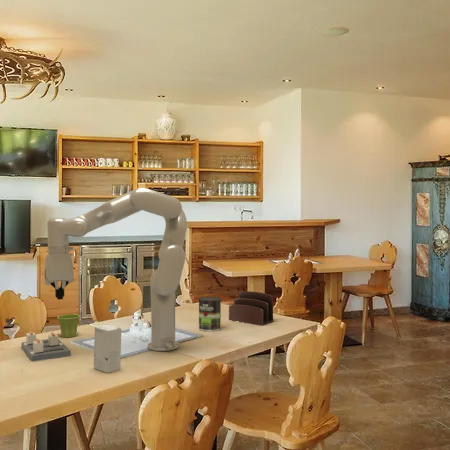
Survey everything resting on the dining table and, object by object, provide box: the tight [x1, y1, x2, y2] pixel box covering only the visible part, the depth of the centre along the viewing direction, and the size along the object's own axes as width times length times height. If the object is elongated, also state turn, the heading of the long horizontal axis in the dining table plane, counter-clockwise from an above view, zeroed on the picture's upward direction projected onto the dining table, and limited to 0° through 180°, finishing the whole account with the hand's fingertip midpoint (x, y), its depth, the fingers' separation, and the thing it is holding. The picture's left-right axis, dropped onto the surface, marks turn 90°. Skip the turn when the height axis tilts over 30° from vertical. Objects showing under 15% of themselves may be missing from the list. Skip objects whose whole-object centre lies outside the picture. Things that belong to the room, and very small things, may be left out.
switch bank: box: [21, 338, 72, 362], centre depth 207 cm, size 22×14×2 cm, turn 30°
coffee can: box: [198, 296, 222, 332], centre depth 243 cm, size 10×10×14 cm
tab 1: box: [25, 330, 37, 344], centre depth 211 cm, size 4×3×4 cm
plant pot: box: [57, 313, 81, 338], centre depth 231 cm, size 9×9×9 cm
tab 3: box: [47, 332, 59, 346], centre depth 208 cm, size 4×3×4 cm
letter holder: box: [228, 290, 274, 327], centre depth 259 cm, size 10×20×14 cm, turn 54°
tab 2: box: [33, 338, 43, 353], centre depth 199 cm, size 4×3×4 cm
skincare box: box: [93, 324, 122, 374], centre depth 184 cm, size 8×6×15 cm
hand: (60, 298), depth 202 cm, fingers closed
